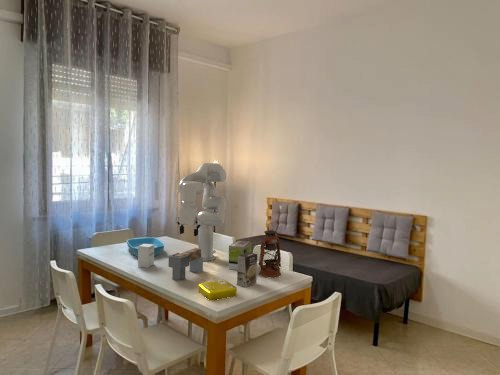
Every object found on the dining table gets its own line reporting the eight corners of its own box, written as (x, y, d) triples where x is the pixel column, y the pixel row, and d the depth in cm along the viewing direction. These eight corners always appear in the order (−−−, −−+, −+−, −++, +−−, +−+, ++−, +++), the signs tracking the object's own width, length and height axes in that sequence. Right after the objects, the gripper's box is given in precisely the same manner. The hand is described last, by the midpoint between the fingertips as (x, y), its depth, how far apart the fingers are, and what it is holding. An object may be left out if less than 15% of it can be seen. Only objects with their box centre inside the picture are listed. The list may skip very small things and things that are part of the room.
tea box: (236, 262, 236) (237, 239, 235) (251, 264, 233) (252, 241, 232) (228, 269, 222) (228, 245, 221) (243, 271, 219) (244, 246, 218)
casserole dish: (124, 247, 268) (124, 237, 267) (154, 244, 278) (154, 235, 278) (133, 260, 235) (133, 249, 235) (168, 256, 246) (168, 246, 245)
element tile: (197, 291, 184) (197, 282, 184) (223, 287, 192) (224, 278, 192) (209, 302, 171) (210, 292, 171) (237, 296, 179) (238, 287, 179)
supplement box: (148, 267, 220) (149, 247, 219) (137, 266, 222) (137, 246, 221) (154, 264, 227) (154, 244, 226) (143, 263, 229) (143, 243, 228)
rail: (195, 256, 219) (195, 247, 218) (201, 257, 217) (201, 248, 217) (174, 264, 201) (174, 255, 200) (180, 265, 199) (180, 256, 199)
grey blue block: (194, 268, 220) (194, 255, 220) (202, 270, 218) (203, 257, 217) (189, 271, 216) (189, 257, 215) (198, 272, 213) (198, 259, 212)
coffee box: (245, 287, 191) (246, 257, 189) (236, 284, 195) (237, 255, 193) (256, 283, 198) (257, 254, 196) (247, 280, 202) (248, 251, 200)
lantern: (267, 280, 204) (268, 226, 201) (251, 274, 214) (253, 222, 211) (288, 274, 215) (290, 223, 212) (272, 269, 224) (274, 220, 222)
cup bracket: (177, 275, 207) (177, 252, 206) (189, 277, 204) (189, 254, 203) (168, 279, 200) (168, 256, 199) (180, 282, 197) (180, 258, 196)
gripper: (172, 204, 207) (172, 234, 208) (198, 206, 199) (197, 237, 201) (180, 202, 214) (180, 231, 215) (205, 205, 206) (205, 235, 207)
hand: (188, 234), depth 208 cm, fingers open, 9 cm apart
